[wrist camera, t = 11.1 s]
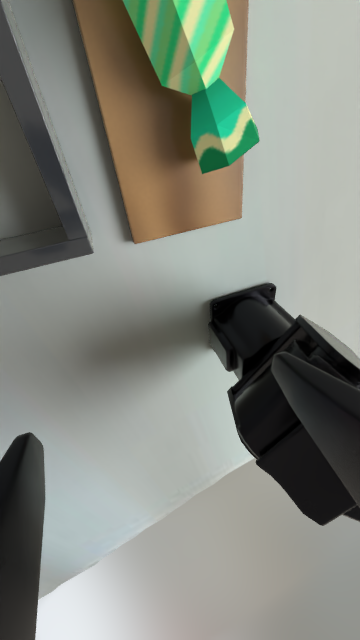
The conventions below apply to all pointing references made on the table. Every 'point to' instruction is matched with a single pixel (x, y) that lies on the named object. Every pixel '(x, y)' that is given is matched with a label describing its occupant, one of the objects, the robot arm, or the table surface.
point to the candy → (197, 72)
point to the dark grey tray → (39, 162)
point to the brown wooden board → (158, 126)
